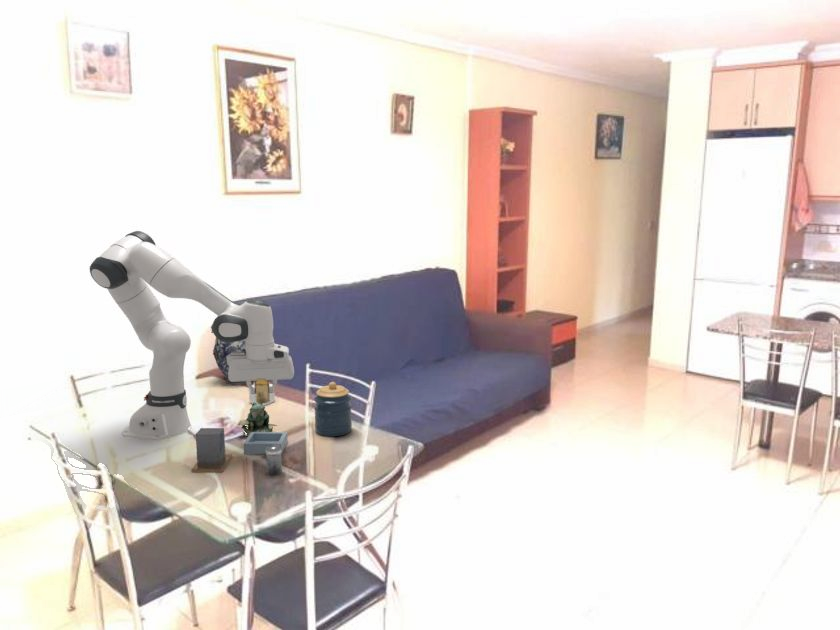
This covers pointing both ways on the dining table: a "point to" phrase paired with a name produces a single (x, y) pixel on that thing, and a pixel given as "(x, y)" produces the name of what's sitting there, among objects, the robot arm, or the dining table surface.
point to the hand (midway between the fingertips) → (262, 393)
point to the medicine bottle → (253, 397)
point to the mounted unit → (211, 450)
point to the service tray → (264, 441)
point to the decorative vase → (223, 351)
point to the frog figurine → (256, 420)
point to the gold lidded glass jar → (262, 391)
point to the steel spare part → (273, 459)
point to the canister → (332, 410)
